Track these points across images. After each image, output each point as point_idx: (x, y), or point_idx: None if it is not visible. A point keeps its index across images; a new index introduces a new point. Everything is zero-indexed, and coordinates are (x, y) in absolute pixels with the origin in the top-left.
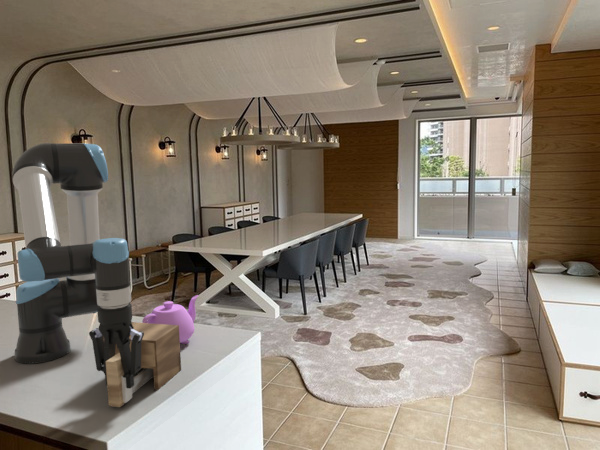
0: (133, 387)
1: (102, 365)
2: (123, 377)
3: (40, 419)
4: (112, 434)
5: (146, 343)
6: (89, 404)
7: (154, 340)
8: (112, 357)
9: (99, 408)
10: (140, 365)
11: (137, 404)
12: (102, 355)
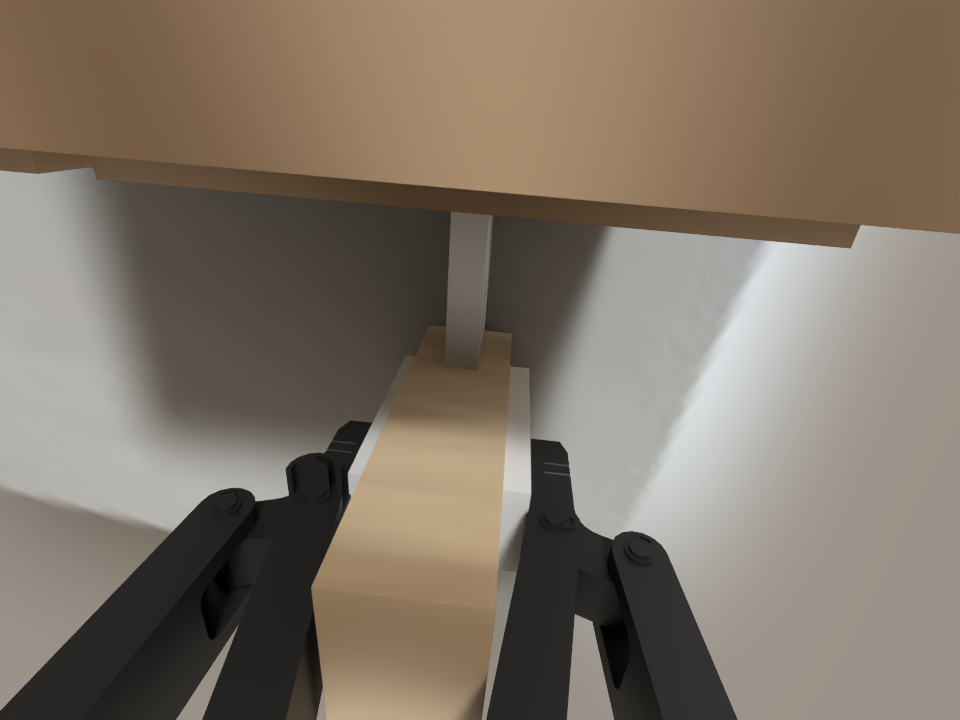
0: (486, 284)
1: (244, 575)
2: (514, 567)
3: (170, 518)
4: None
5: (625, 219)
6: (280, 386)
7: (925, 211)
8: (331, 685)
9: (368, 419)
10: (676, 591)
11: (568, 364)
12: (172, 666)
